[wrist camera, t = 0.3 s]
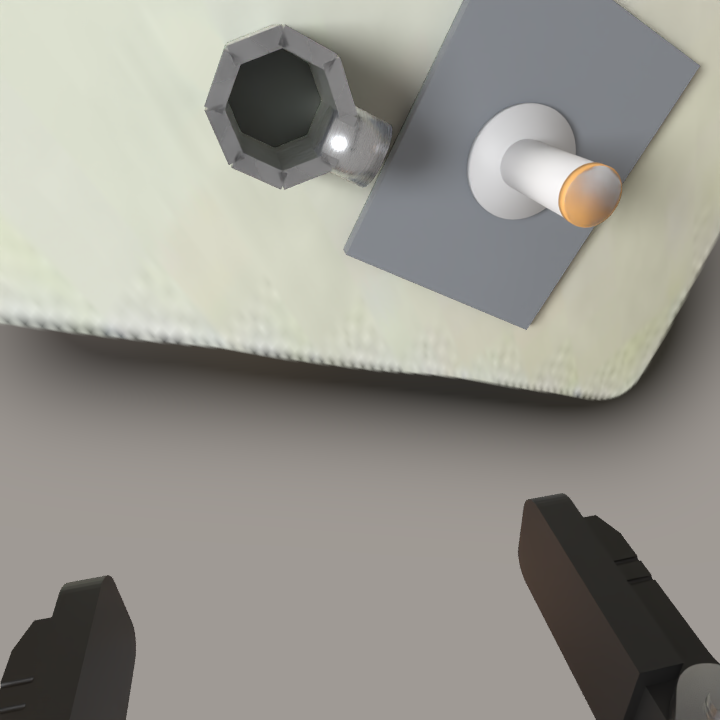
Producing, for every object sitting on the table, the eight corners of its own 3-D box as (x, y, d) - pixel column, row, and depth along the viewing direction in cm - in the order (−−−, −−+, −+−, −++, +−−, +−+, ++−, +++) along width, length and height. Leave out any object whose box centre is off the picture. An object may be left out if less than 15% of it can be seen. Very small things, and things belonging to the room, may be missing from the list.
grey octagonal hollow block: (238, 4, 28) (241, -1, 23) (382, 84, 31) (414, 96, 26) (196, 128, 30) (189, 149, 25) (334, 191, 33) (353, 222, 28)
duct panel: (499, -76, 28) (600, -114, 21) (688, 64, 33) (823, 76, 26) (343, 249, 35) (374, 311, 27) (520, 323, 40) (588, 393, 33)
